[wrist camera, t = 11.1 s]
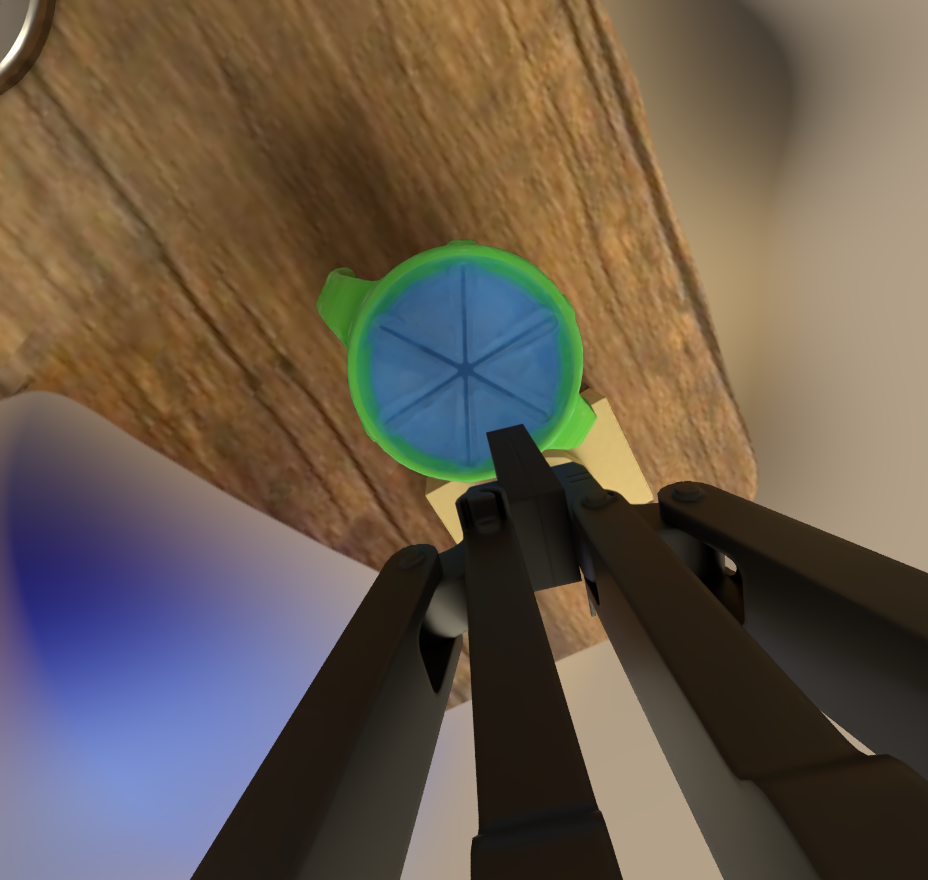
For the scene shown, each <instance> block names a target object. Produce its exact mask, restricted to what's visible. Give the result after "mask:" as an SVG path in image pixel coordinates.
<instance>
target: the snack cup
mask: <svg viewBox="0 0 928 880" xmlns="http://www.w3.org/2000/svg"><path fill="white" fill-rule="evenodd" d="M316 307H317V310H318V312H319V314H320V316H321V318H322V319H323V320H324V321H325V323H326V324H327V325H328V327H329V328H330V329H331V330H332V331H333V332H334V333H335V335H336V336H337V337H338V338H339V339H340V340H341V341H342V343H343V344H344V345H345V347H346V349H347V376H348V384H349V390H350V394H351V398H352V401H353V403H354V406H355V409H356V411H357V413H358V415H359V417H360V419H361V422H362V427H363V428H364V430H365V431H366V433H367V434H368V435H369V437H370V438H371V439H372V441H374V442H377V443H378V444H379V445H380V447H381V448H382V449H383V450H384V451H385V452H387V453H388V454H389V455H390V456H391V457H393V458H394V459H395V460H396V461H398V462H399V463H401V464H403V465H404V466H406V467H408V468H409V469H411V470H413V471H416V472H418V473H421V474H423V475H426V476H429V477H433V478H437V479H442V480H448V481H458V482H465V483H472V482H478V481H480V480H487V479H491V478H496V473H495V469H494V465H493V460H492V456H491V452H490V448H489V443H488V439H487V435H486V432H490V431H494V430H498V429H502V428H506V427H511V426H515V425H519V424H524V426H525V428H526V429H527V431H528V432H529V434H530V436H531V437H532V439H533V440H534V442H535V443H536V445H537V447H538V448H539V450H540V451H541V452H542V451H544V450H546V449H549V450H550V449H566V450H570V449H574V448H578V447H579V446H580V445H581V444H582V443H583V441H584V440H585V438H586V436H587V434H588V432H589V431H590V430H591V428H592V427H593V426H594V424H595V422H596V419H597V415H596V414H595V413H594V410H593V408H592V406H591V404H590V403H589V401H588V400H587V399H586V398H584V397H581V395H580V394H579V389H580V386H581V381H582V373H583V349H582V347H583V345H582V341H581V335H580V332H579V329H578V326H577V323H576V320H575V312H574V310H573V308H572V305H571V304H570V302H569V300H568V298H567V297H566V296H565V295H563V294H561V292H560V291H559V290H558V288H557V287H556V286H555V285H554V283H553V282H552V281H551V280H550V279H549V278H548V277H547V276H546V275H545V274H544V273H543V272H541V271H540V270H539V269H538V268H537V267H536V266H535V265H534V264H532V263H530V262H528V261H527V260H525V259H523V258H521V257H519V256H517V255H515V254H513V253H510V252H508V251H505V250H502V249H498V248H495V247H491V246H486V245H477V243H476V242H475V241H474V240H452V241H450V242H449V243H448V244H447V245H446V246H440V247H436V248H433V249H430V250H426V251H424V252H422V253H419V254H416V255H415V256H413V257H411V258H409V259H407V260H406V261H404V262H402V263H401V264H399V265H398V266H396V267H395V268H394V269H393V270H392V271H390V272H389V273H388V274H387V275H386V276H385V277H383V278H382V279H380V280H377V281H367V280H362V279H358V278H355V274H354V272H353V271H352V270H351V269H349V268H345V267H342V268H338V269H335V270H333V271H331V272H330V273H329V275H328V277H327V279H326V282H325V285H324V287H323V288H322V292H321V295H320V296H319V298H318V300H317V304H316Z"/></svg>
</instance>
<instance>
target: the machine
mask: <svg viewBox="0 0 928 880" xmlns="http://www.w3.org/2000/svg"><path fill="white" fill-rule="evenodd" d="M579 394H580V395H581V397H584V398H586V399H587V400H588V401H589V403H590V404H591V406H592V408H593V410H594V413H595V414H596V415H597V419H596V422H595V424H594V426H593V427H592V428H591V430H590V431H589V432H588V434H587V436H586V438H585V440H584V441H583V443H582V444H581V445H580V446H579V447H578V448H574V449H570V450H566V449H550V450H549V449H546V450H544V451H542V452H541V453H542V454H543V456H544V458H545V459H546V461H547V462H548V464H549V465H550V467H551V466H556V465H560V464H564V463H568V462H576V463H579V464H581V465H584V466H585V468H586V469H587V470H588V471H589V473H591V475H592V476H593V478H595V479H596V480H597V482H598V483H599V484H600V485H601V486H602V487H603V489H609V490H613V491H617V492H618V493H620V494H621V495H623V497H624V498H625V499H626V500H627V501H628V502H629V503H630V504H645V503H647V502H649V501H651V500H653V499H654V497H653V495H652V493H651V491H650V489H649V487H648V484H647V482H646V480H645V478H644V476H643V474H642V472H641V470H640V468H639V466H638V463H637V461H636V459H635V457H634V455H633V453H632V451H631V449H630V447H629V445H628V443H627V440H626V438H625V436H624V434H623V432H622V430H621V428H620V426H619V424H618V422H617V419H616V417H615V415H614V413H613V411H612V409H611V407H610V405H609V403H608V401H607V398H606V397H605V396H603V395H601V394H599V393H598V392H596V391H594V390H593V389H591V388H588V389H587V390H585V391H583V392H581V393H579ZM493 481H497V477H496V478H491V479H487V480H480V481H478V482H472V483H465V482H458V481H448V480H442V479H437V478H433V477H429V476H428V477H427V484H426V492H425V496H426V498H427V499H428V501H429V502H430V504H431V505H432V507H433V508H434V510H435V511H436V513H437V514H438V516H439V517H440V519H441V520H442V522H443V524H444V525H445V527H446V528H447V530H448V531H449V533H450V534H451V536H452V537H453V539H454V540H455V542H456V543H457V544H459V543H460V542H461V541H462V540H463V532H462V528H461V524H460V520H459V517H458V513H457V509H456V506H455V502H456V500H457V498H459V497H460V496H461V495H462V494H464V493H466V491H467V490H468V488H469V487H471V486H476V485H480V484H484V483H488V482H493Z"/></svg>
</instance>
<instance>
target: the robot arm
mask: <svg viewBox="0 0 928 880" xmlns="http://www.w3.org/2000/svg"><path fill="white" fill-rule="evenodd" d="M55 1H56V0H0V95H1V94H3V93H4V92H6V91H7V90H9V89H10V88H12V87H13V86H14V85H15V84H16V83H17V82H19V81H20V80H21V79H22V78H23V77H24V76H25V74H26V73H27V72H28V71H29V70H30V69H31V67H32V66H33V64H34V63H35V61H36V60H37V58H38V57H39V55H40V53H41V51H42V48H43V46H44V44H45V42H46V39H47V36H48V34H49V31H50V27H51V23H52V19H53V15H54V8H55ZM486 435H487V439H488V443H489V448H490V452H491V456H492V460H493V465H494V469H495V473H496V477H497V481H493V482H488V483H484V484H480V485H476V486H471V487H469V488H468V490H467V491H466V493H464V494H462V495H461V496H460V497H459V498H457V500H456V502H455V506H456V509H457V513H458V517H459V520H460V524H461V528H462V532H463V540H462V541H461V542H460V543H459V544H457V545H456V546H454V547H453V548H451V549H449V550H447V551H445V552H442V553H440V554H438V551H437V550H436V548H435V547H434V546H432V545H429V544H417V545H410V546H407V547H405V548H403V549H401V550H400V551H398V552H397V553H395V554H394V555H392V556H391V557H390V559H389V560H388V561H387V562H386V564H385V565H384V567H383V569H382V570H381V572H380V573H379V575H378V577H377V578H376V580H375V582H374V583H373V585H372V587H371V588H370V590H369V592H368V593H367V595H366V596H365V598H364V599H363V601H362V603H361V604H360V606H359V608H358V609H357V611H356V613H355V614H354V616H353V617H352V619H351V620H350V622H349V624H348V625H347V627H346V628H345V630H344V632H343V633H342V635H341V637H340V638H339V640H338V641H337V643H336V645H335V646H334V648H333V649H332V651H331V653H330V655H329V656H328V658H327V659H326V661H325V662H324V664H323V666H322V667H321V669H320V670H319V672H318V674H317V675H316V677H315V679H314V680H313V682H312V683H311V685H310V687H309V688H308V690H307V692H306V693H305V695H304V696H303V698H302V700H301V701H300V703H299V704H298V706H297V708H296V709H295V711H294V713H293V714H292V716H291V717H290V719H289V721H288V722H287V724H286V726H285V727H284V729H283V730H282V732H281V734H280V735H279V737H278V738H277V740H276V742H275V743H274V745H273V746H272V748H271V750H270V751H269V753H268V755H267V756H266V758H265V759H264V761H263V763H262V764H261V766H260V767H259V769H258V771H257V772H256V774H255V776H254V777H253V779H252V780H251V782H250V784H249V786H248V787H247V788H246V790H245V792H244V793H243V795H242V797H241V798H240V800H239V801H238V803H237V805H236V806H235V808H234V810H233V811H232V813H231V814H230V816H229V818H228V819H227V821H226V822H225V824H224V826H223V827H222V829H221V830H220V832H219V834H218V835H217V837H216V839H215V840H214V842H213V843H212V845H211V847H210V848H209V850H208V852H207V853H206V855H205V856H204V858H203V860H202V861H201V863H200V864H199V866H198V868H197V869H196V871H195V873H194V874H193V876H192V877H191V879H190V880H400V877H401V874H402V870H403V866H404V862H405V859H406V855H407V851H408V847H409V844H410V840H411V836H412V832H413V828H414V825H415V821H416V817H417V814H418V810H419V806H420V802H421V799H422V795H423V791H424V787H425V784H426V780H427V776H428V772H429V768H430V765H431V761H432V757H433V754H434V750H435V746H436V742H437V739H438V735H439V731H440V727H441V723H442V720H443V716H444V712H445V709H446V705H447V701H448V697H449V694H450V690H451V686H452V682H453V679H454V675H455V671H456V667H457V664H458V660H459V656H460V652H461V649H462V645H463V636H462V633H464V632H466V631H468V636H469V654H470V672H471V689H472V705H473V706H472V707H473V723H474V724H473V725H474V741H475V742H474V743H475V760H476V778H477V795H478V813H479V830H478V835H477V836H475V837H474V838H473V840H472V846H471V880H623V878H622V875H621V872H620V868H619V865H618V862H617V859H616V855H615V852H614V849H613V845H612V842H611V839H610V836H609V833H608V830H607V826H606V823H605V821H604V818H603V815H602V812H601V811H600V810H599V809H598V806H597V803H596V799H595V796H594V793H593V790H592V786H591V783H590V780H589V776H588V773H587V769H586V766H585V763H584V759H583V756H582V753H581V750H580V746H579V743H578V739H577V736H576V733H575V729H574V726H573V722H572V719H571V716H570V712H569V709H568V706H567V702H566V699H565V696H564V692H563V689H562V685H561V682H560V679H559V675H558V672H557V669H556V665H555V662H554V659H553V655H552V652H551V648H550V645H549V642H548V638H547V635H546V632H545V628H544V625H543V622H542V618H541V615H540V611H539V608H538V605H537V601H536V598H535V595H534V592H535V591H539V590H544V589H548V588H552V587H557V586H561V585H566V584H570V583H575V582H579V581H582V579H581V574H580V568H581V570H582V572H583V574H584V579H585V584H586V590H587V595H588V600H589V606H590V611H591V616H592V617H593V616H596V613H595V610H596V612H597V614H598V616H599V618H600V621H601V623H602V625H603V627H604V629H605V631H606V633H607V635H608V637H609V639H610V641H611V643H612V646H613V648H614V650H615V652H616V654H617V656H618V658H619V660H620V663H621V664H622V667H623V669H624V671H625V673H626V675H627V677H628V679H629V681H630V684H631V686H632V688H633V690H634V692H635V694H636V696H637V698H638V700H639V702H640V704H641V706H642V709H643V711H644V713H645V715H646V717H647V719H648V721H649V723H650V725H651V727H652V729H653V732H654V734H655V736H656V738H657V740H658V742H659V744H660V746H661V748H662V751H663V753H664V755H665V757H666V759H667V761H668V763H669V765H670V767H671V770H672V772H673V774H674V776H675V778H676V780H677V782H678V784H679V786H680V788H681V790H682V793H683V795H684V796H685V799H686V801H687V803H688V805H689V807H690V809H691V811H692V814H693V816H694V818H695V820H696V822H697V824H698V826H699V828H700V830H701V832H702V834H703V837H704V839H705V841H706V843H707V845H708V847H709V849H710V851H711V853H712V855H713V858H714V860H715V862H716V864H717V866H718V868H719V870H720V872H721V874H722V877H723V878H724V880H928V573H926V572H924V571H921V570H919V569H916V568H914V567H911V566H909V565H906V564H904V563H901V562H899V561H896V560H894V559H891V558H889V557H886V556H884V555H882V554H879V553H877V552H874V551H872V550H869V549H867V548H864V547H862V546H860V545H857V544H855V543H852V542H850V541H847V540H845V539H842V538H840V537H837V536H835V535H832V534H830V533H827V532H825V531H823V530H820V529H817V528H815V527H812V526H810V525H808V524H805V523H803V522H800V521H798V520H795V519H793V518H790V517H788V516H786V515H783V514H780V513H778V512H776V511H773V510H771V509H768V508H766V507H763V506H761V505H758V504H756V503H753V502H751V501H749V500H746V499H744V498H741V497H739V496H736V495H734V494H731V493H729V492H726V491H724V490H721V489H719V488H716V487H714V486H712V485H708V484H704V483H700V482H692V481H684V482H683V481H681V482H676V483H674V484H670V485H667V486H665V487H663V488H662V489H660V491H659V492H658V502H659V503H652V504H630V503H629V502H628V501H627V500H626V499H625V498H624V497H623V495H621V494H620V493H618V492H617V491H613V490H609V489H603V487H602V486H601V485H600V484H599V483H598V482H597V480H596V479H595V478H593V476H592V475H591V473H589V471H588V470H587V469H586V468H585V466H584V465H581V464H579V463H576V462H568V463H564V464H560V465H556V466H551V467H550V465H549V464H548V462H547V461H546V459H545V458H544V456H543V454H542V453H541V451H540V450H539V448H538V447H537V445H536V443H535V442H534V440H533V439H532V437H531V436H530V434H529V432H528V431H527V429H526V428H525V426H524V424H519V425H515V426H511V427H506V428H502V429H498V430H494V431H490V432H486ZM725 555H726V556H727V557H728V558H730V559H731V560H732V561H733V562H734V563H735V565H736V567H737V570H736V572H735V571H732V570H730V569H729V568H728V567H726V566H725ZM579 566H580V568H579ZM821 711H822V712H823V713H824V714H825V715H827V716H828V717H829V718H831V719H832V720H833V721H835V722H836V723H837V724H838V725H839V726H841V727H842V728H843V729H845V730H846V731H847V732H849V733H850V734H851V735H852V736H853V737H855V738H856V739H857V740H859V741H860V742H861V743H862V744H864V745H865V746H866V747H867V748H869V749H870V750H871V751H873V752H874V753H875V754H876V755H869V756H868V755H866V754H864V753H862V752H860V751H859V750H857V749H856V748H855V747H854V746H853V745H852V744H851V743H850V742H849V741H847V739H846V738H845V737H844V736H843V735H842V734H841V733H840V732H839V731H838V730H837V729H836V728H835V727H834V725H833V724H832V723H831V722H830V721H829V720H828V719H827V718H826V717H825V715H824V714H823V713H822V712H821Z"/></svg>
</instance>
